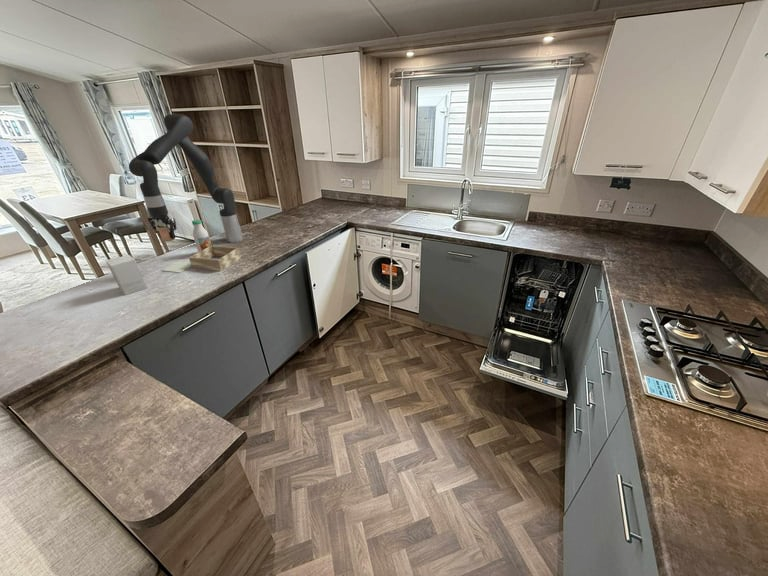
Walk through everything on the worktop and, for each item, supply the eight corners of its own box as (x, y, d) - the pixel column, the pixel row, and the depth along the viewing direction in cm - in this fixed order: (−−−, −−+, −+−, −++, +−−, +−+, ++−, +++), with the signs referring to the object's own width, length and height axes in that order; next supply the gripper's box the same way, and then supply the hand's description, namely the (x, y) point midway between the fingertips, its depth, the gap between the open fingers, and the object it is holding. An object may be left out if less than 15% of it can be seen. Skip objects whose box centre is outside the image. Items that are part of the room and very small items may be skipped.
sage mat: (178, 262, 166) (177, 261, 166) (195, 264, 164) (195, 263, 164) (161, 270, 156) (161, 270, 156) (179, 272, 155) (179, 272, 154)
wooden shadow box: (214, 255, 175) (211, 245, 172) (241, 257, 172) (238, 247, 169) (192, 267, 160) (188, 257, 157) (221, 270, 157) (218, 260, 154)
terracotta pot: (168, 237, 155) (160, 216, 150) (178, 238, 154) (171, 217, 149) (158, 241, 150) (150, 220, 145) (169, 242, 149) (161, 221, 144)
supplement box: (142, 282, 146) (129, 254, 138) (148, 288, 141) (135, 259, 133) (119, 289, 140) (104, 260, 132) (124, 295, 135) (110, 265, 127)
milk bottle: (197, 256, 173) (186, 223, 163) (200, 251, 179) (190, 219, 169) (212, 255, 175) (202, 222, 165) (214, 250, 181) (205, 218, 171)
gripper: (174, 203, 146) (186, 236, 154) (149, 202, 148) (162, 234, 156) (162, 207, 139) (174, 241, 148) (136, 205, 141) (149, 239, 150)
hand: (168, 237), depth 152 cm, fingers closed on terracotta pot, 5 cm apart
